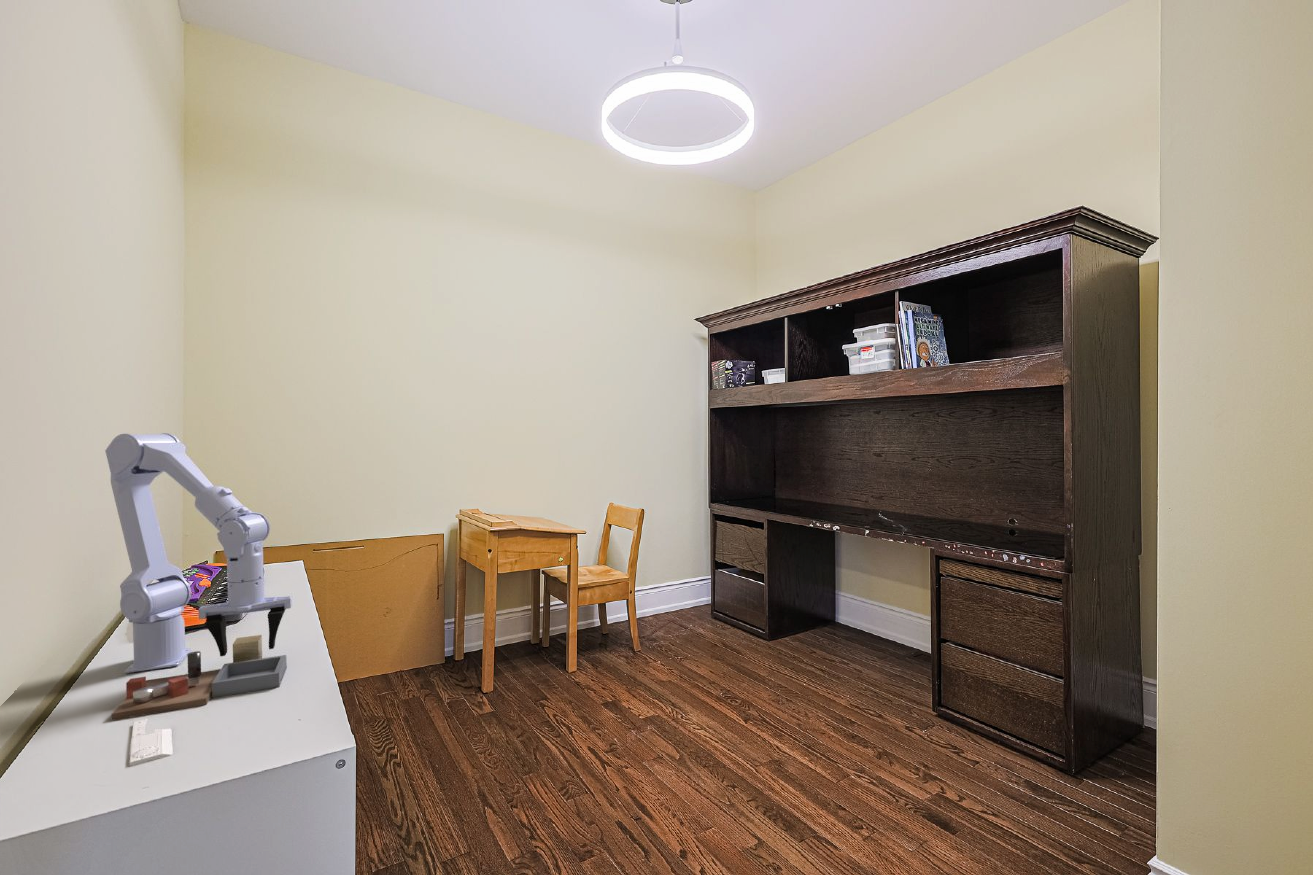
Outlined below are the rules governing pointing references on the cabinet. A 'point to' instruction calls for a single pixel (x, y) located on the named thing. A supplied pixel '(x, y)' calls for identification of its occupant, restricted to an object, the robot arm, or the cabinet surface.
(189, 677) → the crank
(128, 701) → the crank base
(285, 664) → the tray
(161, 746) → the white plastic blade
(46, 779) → the cabinet surface
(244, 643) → the stop block
